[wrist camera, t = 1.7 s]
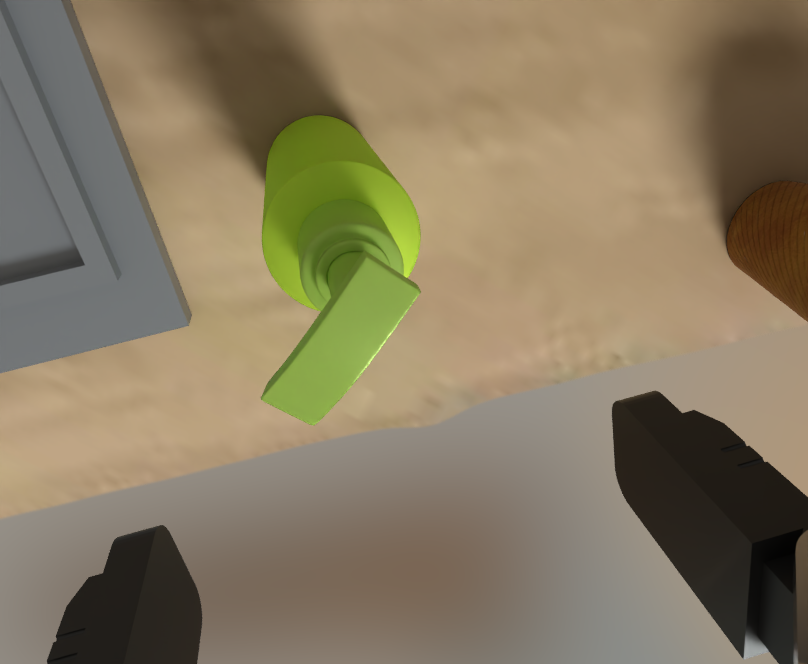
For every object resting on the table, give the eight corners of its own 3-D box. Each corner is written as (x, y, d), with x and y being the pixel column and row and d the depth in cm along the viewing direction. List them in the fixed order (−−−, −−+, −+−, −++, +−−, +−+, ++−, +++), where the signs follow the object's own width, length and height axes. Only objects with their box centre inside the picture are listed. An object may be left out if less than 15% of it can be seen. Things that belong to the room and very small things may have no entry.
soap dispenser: (235, 200, 35) (194, 376, 17) (305, 91, 33) (338, 165, 16) (325, 256, 37) (369, 463, 20) (394, 157, 36) (511, 286, 18)
